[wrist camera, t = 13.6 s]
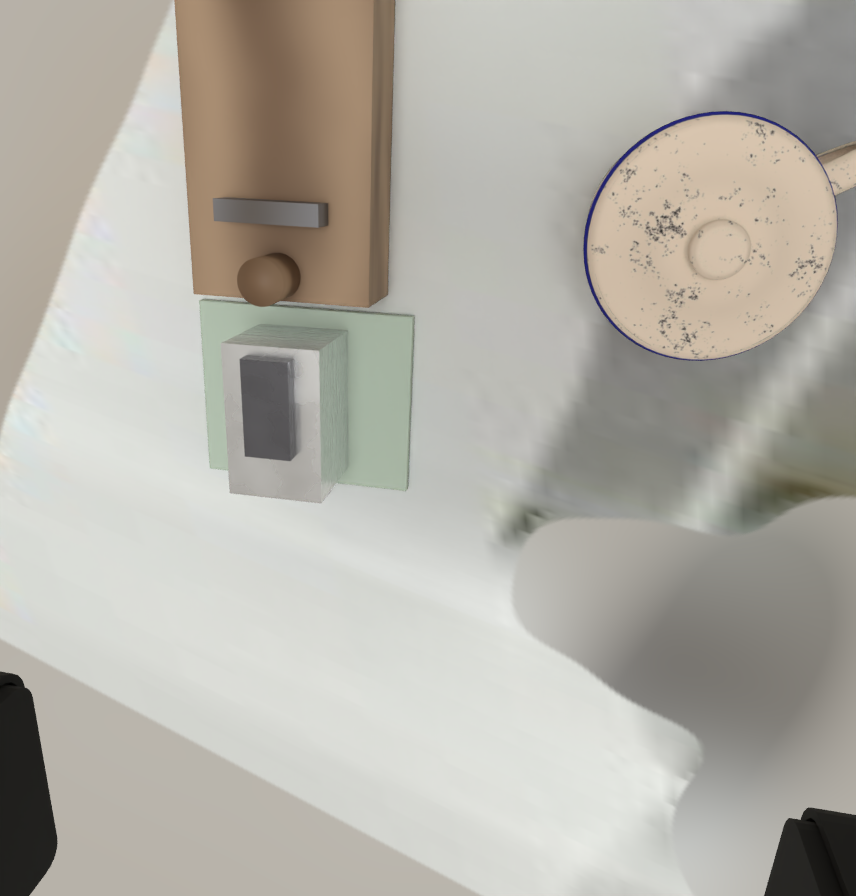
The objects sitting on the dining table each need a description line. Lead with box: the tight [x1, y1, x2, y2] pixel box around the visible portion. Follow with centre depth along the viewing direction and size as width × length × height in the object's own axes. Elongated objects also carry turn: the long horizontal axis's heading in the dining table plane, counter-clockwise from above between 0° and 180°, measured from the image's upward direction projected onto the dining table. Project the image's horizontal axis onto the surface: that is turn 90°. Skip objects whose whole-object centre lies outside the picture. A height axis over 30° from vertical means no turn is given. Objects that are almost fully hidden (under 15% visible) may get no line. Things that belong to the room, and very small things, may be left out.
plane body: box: [175, 0, 395, 308], centre depth 34 cm, size 9×18×7 cm, turn 177°
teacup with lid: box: [584, 111, 856, 361], centre depth 30 cm, size 12×9×12 cm
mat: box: [199, 299, 414, 491], centre depth 42 cm, size 12×10×1 cm
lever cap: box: [220, 324, 348, 503], centre depth 39 cm, size 5×8×6 cm, turn 178°
